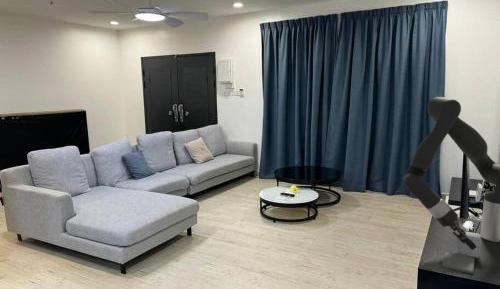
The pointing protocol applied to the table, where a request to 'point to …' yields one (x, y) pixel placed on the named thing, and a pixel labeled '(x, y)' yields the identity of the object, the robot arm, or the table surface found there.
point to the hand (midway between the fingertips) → (473, 244)
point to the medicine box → (464, 248)
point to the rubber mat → (458, 262)
